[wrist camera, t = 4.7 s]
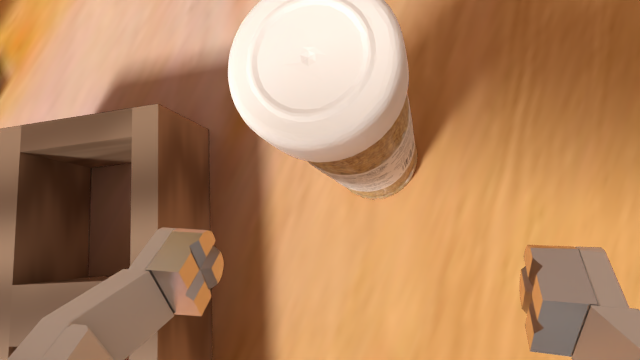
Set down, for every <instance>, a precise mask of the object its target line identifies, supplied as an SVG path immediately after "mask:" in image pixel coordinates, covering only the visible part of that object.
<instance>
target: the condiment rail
mask: <svg viewBox="0 0 640 360" xmlns="http://www.w3.org/2000/svg"><path fill="white" fill-rule="evenodd" d="M126 163H131V236H130V266H131V264H132V263H133V262H134V260H135V259H136V258H137V256H138V255H139V254H140V252H141V251H142V250H143V248H144V247H145V246H146V244H147V243H148V242H149V240H150V239H151V238H152V236H153V235H154V234H155V232H156V231H157V230H158V229H160V228H162V227H165V228H183V229H197V230H208V231H210V191H209V132H208V129H207V128H205V127H203V126H201V125H199V124H197V123H195V122H193V121H191V120H189V119H187V118H185V117H183V116H181V115H179V114H177V113H175V112H173V111H171V110H170V109H168V108H166V107H164V106H162V105H160V104H153V105H147V106H140V107H134V108H128V109H121V110H115V111H109V112H102V113H96V114H90V115H83V116H77V117H71V118H64V119H58V120H52V121H45V122H39V123H33V124H26V125H20V126H14V127H7V128H1V129H0V359H1V360H7V359H8V358H9V357H10V355H11V354H12V353H13V352H14V351H15V350H16V348H17V347H18V346H19V345H20V344H21V343H22V341H23V340H24V339H25V338H26V337H27V335H28V334H29V333H30V332H31V331H32V330H33V328H34V327H35V326H36V325H37V324H38V322H39V321H40V320H41V319H42V318H43V317H45V316H47V315H48V314H50V313H52V312H53V311H55V310H57V309H58V308H60V307H61V306H63V305H65V304H66V303H68V302H70V301H71V300H73V299H75V298H76V297H78V296H80V295H81V294H83V293H85V292H86V291H88V290H89V289H91V288H93V287H94V286H96V285H98V284H99V283H101V282H103V281H104V280H106V279H108V278H109V277H111V276H107V277H88V253H89V219H90V184H91V168H94V167H102V166H110V165H118V164H126ZM210 292H211V289H210ZM129 360H212V309H211V299H210V300H209V302H208V304H207V306H206V308H205V310H204V312H203V314H202V316H191V315H178V314H174V317H173V318H171V319H170V320H169V321H168V322H167V323H166V324H165V325H163V326H162V327H161V328H160V329H159V330H158V331H157V332H156V333H154V334H153V335H152V336H151V337H150V338H149V339H148V340H146V341H145V342H144V343H143V344H142V345H141V346H140V347H138V348H137V349H136V350H135V351H134V352H133V353H132V354H131V355H129Z"/></svg>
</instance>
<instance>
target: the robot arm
mask: <svg viewBox="0 0 640 360" xmlns="http://www.w3.org/2000/svg"><path fill="white" fill-rule="evenodd" d="M215 241H216V239H215V237H214V235H213V233H212V231H208V230H197V229H183V228H165V227H162V228H160V229H158V230H157V231H156V232H155V234H154V235H153V236H152V238H151V239H150V240H149V242H148V243H147V244H146V246H145V247H144V248H143V250H142V251H141V252H140V254H139V255H138V256H137V258H136V259H135V260H134V262H133V263H132V264H131V266H130V267H129V268H128V269H122V270H121V271H119V272H117V273H116V274H114V275H112V276H111V277H109V278H108V279H106V280H104V281H103V282H101V283H99V284H98V285H96V286H94V287H93V288H91V289H89V290H88V291H86V292H85V293H83V294H81V295H80V296H78V297H76V298H75V299H73V300H71V301H70V302H68V303H66V304H65V305H63V306H61V307H60V308H58V309H57V310H55V311H53V312H52V313H50V314H48V315H47V316H45V317H43V318H42V319H41V320H40V321H39V322H38V324H37V325H36V326H35V327H34V328H33V330H32V331H31V332H30V333H29V334H28V335H27V337H26V338H25V339H24V340H23V341H22V343H21V344H20V345H19V346H18V347H17V348H16V350H15V351H14V352H13V353H12V354H11V355H10V357H9V358H8V359H7V360H125V359H126V358H127V357H128V356H129V355H131V354H132V353H133V352H134V351H135V350H136V349H137V348H138V347H140V346H141V345H142V344H143V343H144V342H145V341H146V340H148V339H149V338H150V337H151V336H152V335H153V334H154V333H156V332H157V331H158V330H159V329H160V328H161V327H162V326H163V325H165V324H166V323H167V322H168V321H169V320H170V319H171V318H173V317H174V314H178V315H191V316H202V314H203V312H204V310H205V308H206V306H207V304H208V302H209V300H210V299H211V297H212V296H211V292H210V289H211V288H213V287H214V286H215V285H217V284H218V283H219V281H220V278H221V276H222V273H223V267H224V262H223V256H222V254H221V251H220V250H218V249H217V248H216V247H215V246H214V243H215ZM524 260H525V265H526V266H525V267H524V268H523V269H521V275H520V290H519V291H520V300H521V306H522V309H523V310H524V311H525V312H526V313H527V318H526V323H525V328H526V333H527V338H528V344H529V349H530V351H532V352H539V353H547V354H555V355H562V356H570V357H572V360H640V311H639V310H638V309H632V308H629V306H628V304H627V301H626V299H625V297H624V294H623V292H622V290H621V287H620V285H619V283H618V280H617V278H616V276H615V273H614V271H613V268H612V266H611V264H610V261H609V259H608V257H607V254H606V252H605V251H604V250H603V249H602V248H598V247H570V246H544V245H527V247H526V249H525V253H524ZM0 360H1V359H0Z"/></svg>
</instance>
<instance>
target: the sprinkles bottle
mask: <svg viewBox="0 0 640 360" xmlns="http://www.w3.org/2000/svg"><path fill="white" fill-rule="evenodd" d="M228 82H229V88H230V92H231V96H232V99H233V102H234V104H235V106H236V108H237V110H238V112H239V114H240V116H241V117H242V118H243V120H244V121H245V123H246V124H247V125H248V126H249V127H250V128H251V129H252V130H253V131H254V132H255V133H256V134H257V135H259V136H260V137H261V138H263V139H264V140H265V141H267V142H268V143H270V144H271V145H273V146H274V147H276V148H277V149H279V150H281V151H282V152H284V153H286V154H288V155H290V156H292V157H295V158H298V159H301V160H304V161H307V162H309V163H310V164H311V165H312V166H314V167H315V168H317V169H318V170H320V171H321V172H323V173H324V174H326V175H328V176H329V177H331V178H332V179H334V180H335V181H337V182H338V183H340V184H342V185H343V186H345V187H346V188H347V189H348V190H350V191H351V192H352V193H353V194H355V195H358V196H361V197H363V198H367V199H383V198H387V197H389V196H392V195H394V194H396V193H397V192H399V191H400V190H402V189H403V188H404V187H405V186H406V185H407V184H408V183H409V181H410V180H411V178H412V176H413V173H414V171H415V169H416V164H417V157H418V156H417V148H416V144H415V140H414V132H413V123H412V116H411V110H410V103H409V98H408V95H407V91H408V85H409V69H408V61H407V54H406V48H405V43H404V39H403V35H402V31H401V28H400V25H399V23H398V21H397V18H396V16H395V15H394V13H393V11H392V10H391V8H390V7H389V5H388V4H387V3H386V2H385V1H384V0H260V1H259V2H258V3H257V4H256V5H255V6H254V8H253V9H252V10H251V11H250V12H249V13H248V15H247V16H246V17H245V19H244V20H243V22H242V23H241V25H240V27H239V29H238V31H237V33H236V35H235V37H234V40H233V44H232V47H231V50H230V55H229V61H228Z"/></svg>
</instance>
